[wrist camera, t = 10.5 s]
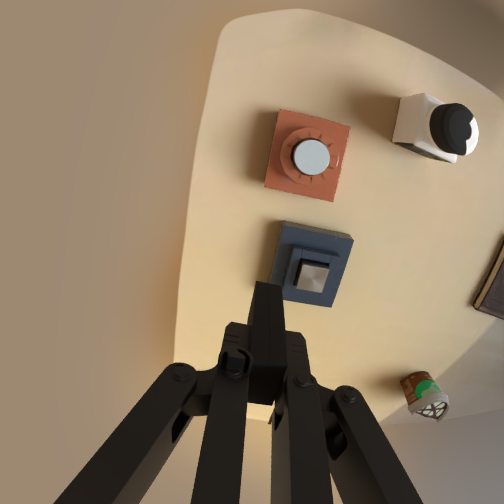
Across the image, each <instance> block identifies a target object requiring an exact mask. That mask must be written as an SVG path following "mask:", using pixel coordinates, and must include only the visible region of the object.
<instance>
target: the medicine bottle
mask: <svg viewBox="0 0 504 504" xmlns="http://www.w3.org/2000/svg"><path fill="white" fill-rule="evenodd" d="M477 141H478V126H477V122H476V120H475V118H474V116H473V114H472V113H471V112H470V110H469V109H468V108H467V107H465V106H464V105H462V104H458V103H452V104H445V103H443V102H441V101H439V100H437V99H436V98H434V97H432V96H430V95H428V94H426V93H421V94H417V95H413V96H408V97H404V98H401V100H400V105H399V110H398V115H397V120H396V125H395V130H394V134H393V139H392V142H393V143H394V144H396V145H399V146H401V147H404V148H406V149H409V150H411V151H413V152H416V153H418V154H420V155H423V156H425V157H427V158H430V159H435V160H440V161H445V162H449V163H456V159H457V155H467V154H469V153H471V152H472V151H473V150H474V148H475V146H476V144H477Z"/></svg>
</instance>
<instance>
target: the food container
mask: <svg viewBox="0 0 504 504" xmlns="http://www.w3.org/2000/svg"><path fill="white" fill-rule="evenodd" d="M400 383H401V386H402V389H403V391H404V394H405V397H406V400H407V403H408V409H409V411H410V412H411V414H412V415H413V414H414V413H418V414H420V415H422V416H425V417H430V418H434V419H436V420H437V422H439V421H440V420H442V419H443V418H444V416H445V415H446V414H447V412H448V410H449V400H448V396H447V395H446V394H445V393H442V392H441V391H440V389H439V388H438V386H437V385H436V383H435V382H434V380H433V379H432V377H431V376H430V375H429V373H428V372H425V371H420V372H416V373H413V374H411V375H409V376H407V377H405V378H404V379H403V380H402V381H400Z"/></svg>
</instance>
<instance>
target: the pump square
mask: <svg viewBox="0 0 504 504" xmlns="http://www.w3.org/2000/svg"><path fill="white" fill-rule="evenodd" d="M328 272H329V268H328V265H327V264H324V263H319V262H314V261H309V260H304V259H302V260H301V263H300V267H299V270H298V274H297V278H296V281H295V284H296V289H302V290H307V291H313V292H319V293H322V290H323V287H324V284H325V281H326V278H327V275H328Z"/></svg>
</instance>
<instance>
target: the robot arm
mask: <svg viewBox="0 0 504 504" xmlns="http://www.w3.org/2000/svg"><path fill="white" fill-rule="evenodd" d="M306 347H307V346H306V340H305V338H304V337H303V335H302V334H301V333H299V332H293V331H286V330H285V318H284V306H283V295H282V286H281V285H275V284H270V283H264V282H259V281H256V284H255V289H254V293H253V298H252V302H251V307H250V311H249V316H248V322H247V325H246V324H241V323H235V322H230V323H229V324H228V325H227V326H226V329H225V333H224V338H223V343H222V348H221V352H220V354H219V358H218V364H217V365H216V366H215V367H214V368H212V369H209V370H205V371H196V370H195V369H194V367H192V366H190V365H189V364H185V363H173V364H170V365H169V366H168V367H166V368H165V369H164V371H163V372H162V373H161V374H160V376H159V377H158V378H157V379H156V380H155V382H154V383H153V384H152V385H151V387H150V388H149V389H148V390H147V392H146V393H145V394H144V395H143V396H142V398H141V399H140V400H139V401H138V402H137V404H136V405H135V406H134V407H133V408H132V410H131V411H130V412H129V413H128V415H127V416H126V417H125V418H124V419H123V421H122V422H121V423H120V424H119V426H118V427H117V428H116V429H115V430H114V431H113V433H112V434H111V435H110V436H109V438H108V439H107V440H106V441H105V442H104V444H103V445H102V446H101V447H100V448H99V450H98V451H97V452H96V453H95V454H94V456H93V457H92V458H91V459H90V461H89V462H88V463H87V464H86V465H85V467H84V468H83V469H82V470H81V471H80V472H79V474H78V475H77V476H76V477H75V478H74V480H73V481H72V482H71V483H70V484H69V486H68V487H67V488H66V489H65V490H64V492H63V493H62V494H61V495H60V496H59V498H58V499H57V500H56V501H55V502H54V504H139V503H140V501H141V499H142V498H143V496H144V495H145V493H146V492H147V490H148V489H149V487H150V486H151V484H152V483H153V481H154V479H155V478H156V476H157V475H158V473H159V472H160V470H161V469H162V467H163V465H164V464H165V462H166V461H167V459H168V457H169V456H170V454H171V452H172V451H173V449H174V448H175V446H176V445H177V443H178V441H179V440H180V438H181V436H182V435H183V433H184V432H185V430H186V428H187V427H188V425H189V423H190V422H191V420H192V418H193V416H205V415H207V420H206V425H205V431H204V436H203V441H202V446H201V451H200V457H199V462H198V467H197V472H196V477H195V483H194V489H193V493H192V499H191V504H239V498H240V487H241V474H242V463H243V449H244V438H245V425H246V413H247V402H248V403H255V404H263V405H271V406H272V405H273V402H274V400H275V408H274V410H273V412H272V415H271V417H270V419H269V423H268V424H271V422H272V456H271V459H272V461H271V504H333V495H332V486H331V477H330V473H331V475H332V478H333V480H334V482H335V485H336V487H337V490H338V492H339V495H340V497H341V499H342V502H343V504H423V502H422V500H421V499H420V497H419V495H418V493H417V491H416V489H415V488H414V486H413V484H412V482H411V480H410V479H409V477H408V475H407V473H406V471H405V469H404V468H403V466H402V464H401V462H400V461H399V459H398V457H397V455H396V454H395V452H394V450H393V448H392V446H391V445H390V443H389V441H388V439H387V438H386V436H385V434H384V432H383V431H382V429H381V427H380V425H379V424H378V422H377V420H376V418H375V417H374V415H373V413H372V411H371V410H370V408H369V406H368V405H367V403H366V401H365V399H364V398H363V396H362V394H361V393H360V392H359V391H358V390H357V389H355V388H354V387H351V386H344V385H343V386H340V387H338V388H337V389H336V390H335V391H334V390H331V389H328V388H325V387H323V386H321V385H319V384H318V383H317V381H316V378H315V377H314V376H313V375H312V374H311V372H310V365H309V359H308V354H307V348H306Z"/></svg>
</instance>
